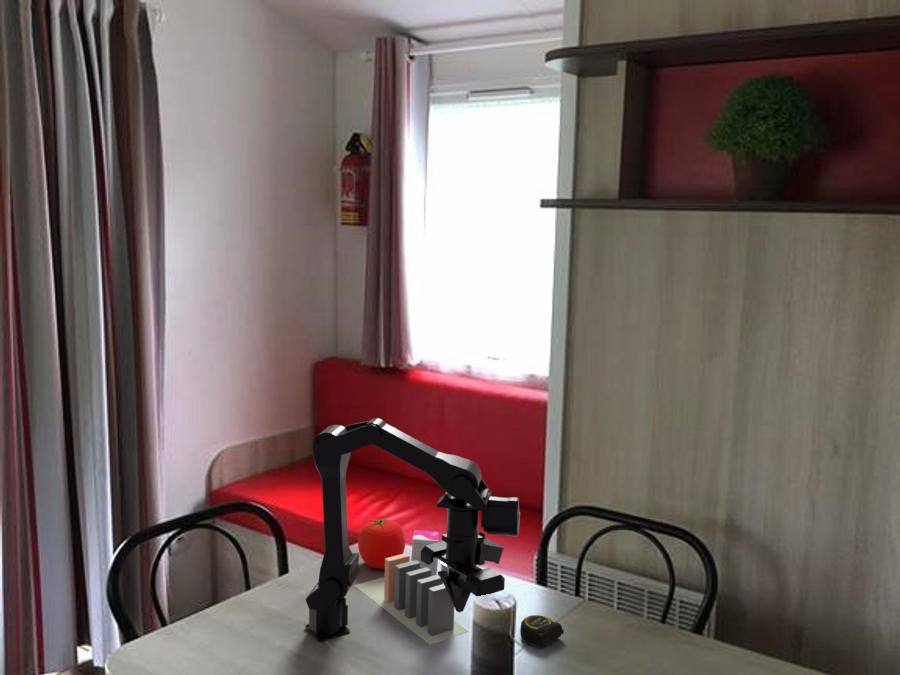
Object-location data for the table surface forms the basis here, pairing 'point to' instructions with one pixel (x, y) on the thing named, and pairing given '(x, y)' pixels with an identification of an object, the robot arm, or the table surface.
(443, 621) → the domino
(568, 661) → the table surface
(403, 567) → the domino
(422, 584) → the domino
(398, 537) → the tomato
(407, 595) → the domino
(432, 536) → the supplement box
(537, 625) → the tape measure
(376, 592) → the runner
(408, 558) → the domino
